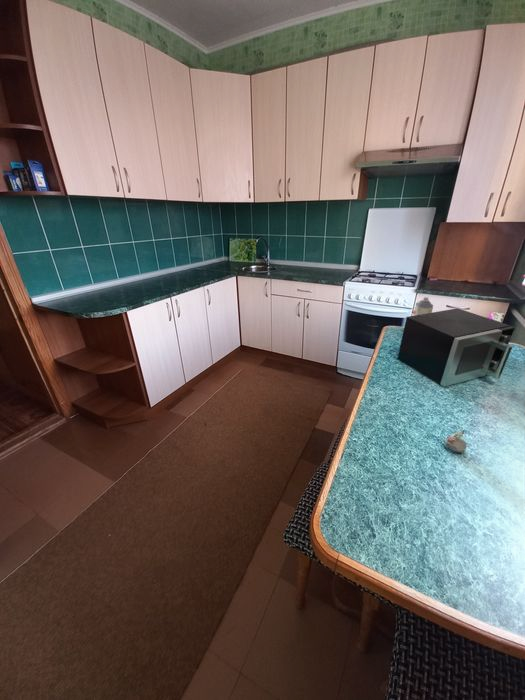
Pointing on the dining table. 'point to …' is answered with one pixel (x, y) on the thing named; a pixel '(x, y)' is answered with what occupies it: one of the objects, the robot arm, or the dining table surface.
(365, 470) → the dining table surface
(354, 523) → the dining table surface
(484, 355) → the oven door
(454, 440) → the figurine
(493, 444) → the dining table surface
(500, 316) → the candy bar box
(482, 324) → the oven
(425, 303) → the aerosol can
